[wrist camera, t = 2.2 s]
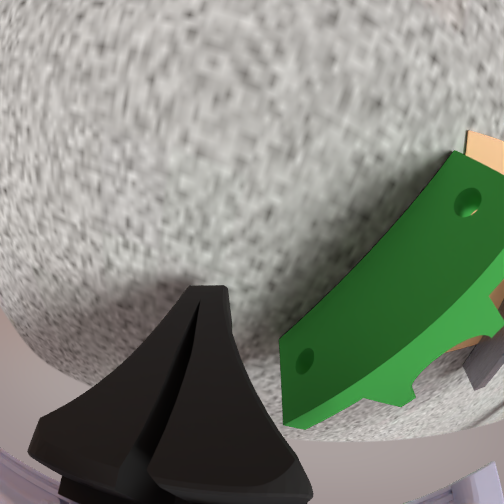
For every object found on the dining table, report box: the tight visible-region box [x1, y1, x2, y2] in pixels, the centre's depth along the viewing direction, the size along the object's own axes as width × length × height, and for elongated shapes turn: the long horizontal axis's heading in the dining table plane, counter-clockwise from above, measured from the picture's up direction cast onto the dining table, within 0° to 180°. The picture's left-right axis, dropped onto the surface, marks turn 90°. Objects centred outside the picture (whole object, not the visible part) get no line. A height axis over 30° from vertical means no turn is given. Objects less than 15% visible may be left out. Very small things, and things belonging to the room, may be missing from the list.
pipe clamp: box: [279, 150, 504, 430], centre depth 9 cm, size 11×4×5 cm, turn 146°
